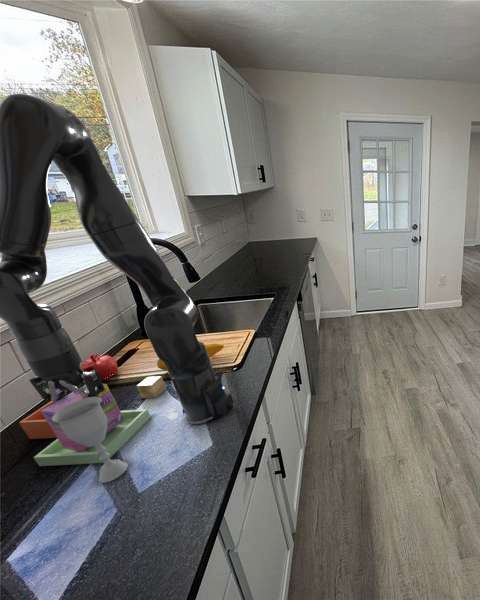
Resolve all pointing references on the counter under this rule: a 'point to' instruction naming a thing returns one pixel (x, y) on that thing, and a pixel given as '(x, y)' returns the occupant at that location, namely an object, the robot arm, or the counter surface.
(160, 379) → the block
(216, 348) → the corn
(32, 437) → the bin
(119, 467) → the chalice
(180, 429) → the counter surface
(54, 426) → the box
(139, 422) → the tray
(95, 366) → the pomegranate
